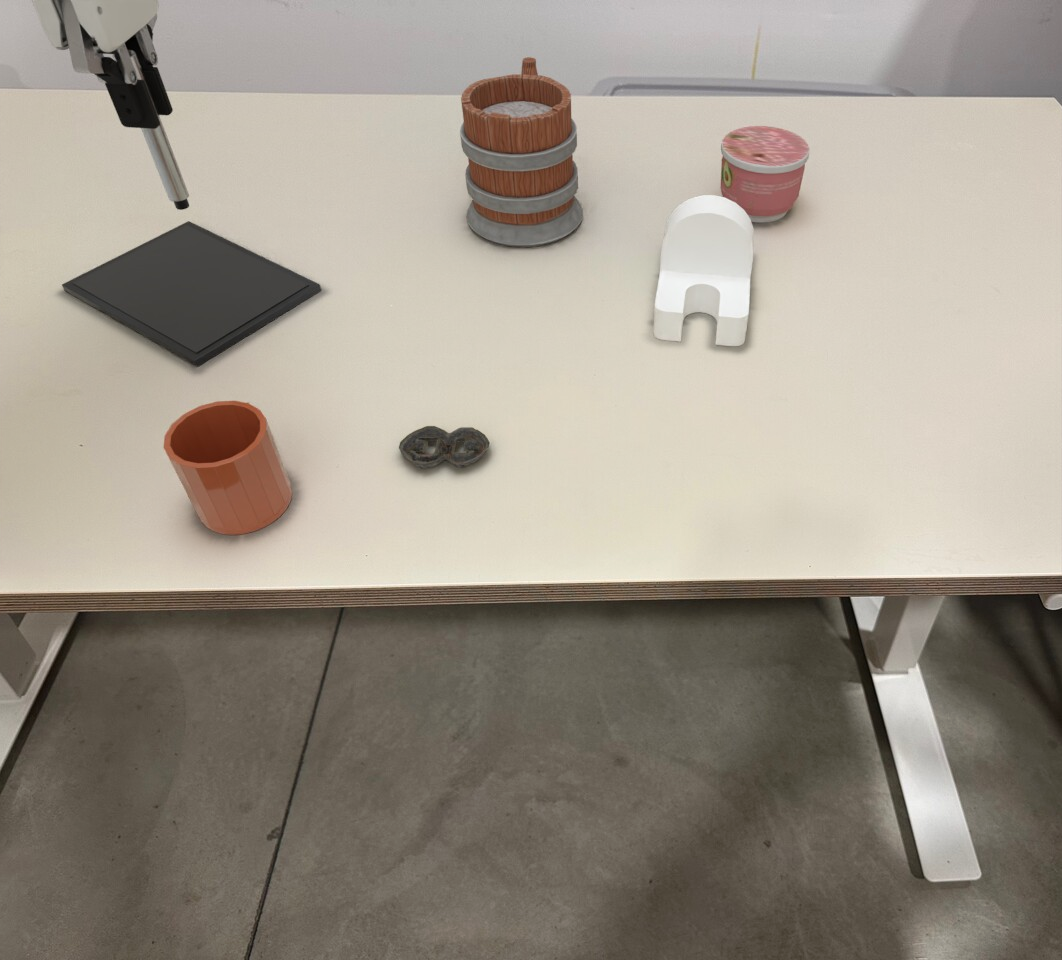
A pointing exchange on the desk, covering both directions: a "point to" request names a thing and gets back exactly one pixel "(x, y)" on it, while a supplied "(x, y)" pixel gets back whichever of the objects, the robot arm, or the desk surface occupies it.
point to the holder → (229, 466)
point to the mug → (520, 158)
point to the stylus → (162, 152)
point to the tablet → (192, 291)
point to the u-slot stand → (705, 268)
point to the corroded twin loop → (444, 446)
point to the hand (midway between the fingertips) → (148, 118)
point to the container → (763, 170)
